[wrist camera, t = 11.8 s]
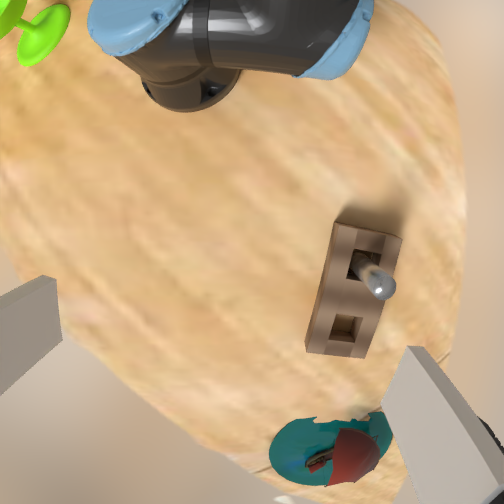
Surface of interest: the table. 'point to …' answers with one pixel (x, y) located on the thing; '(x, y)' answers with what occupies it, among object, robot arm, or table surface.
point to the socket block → (349, 292)
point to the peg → (373, 276)
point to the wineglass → (34, 29)
